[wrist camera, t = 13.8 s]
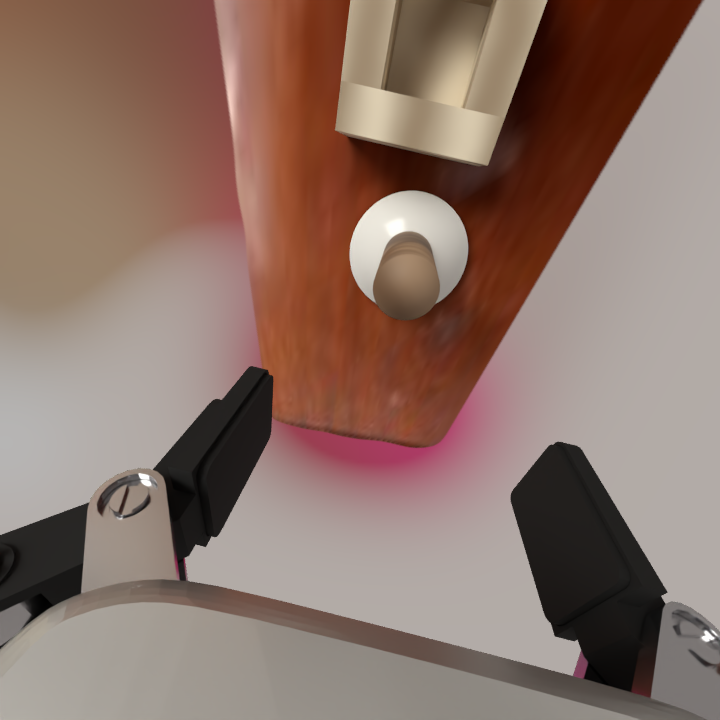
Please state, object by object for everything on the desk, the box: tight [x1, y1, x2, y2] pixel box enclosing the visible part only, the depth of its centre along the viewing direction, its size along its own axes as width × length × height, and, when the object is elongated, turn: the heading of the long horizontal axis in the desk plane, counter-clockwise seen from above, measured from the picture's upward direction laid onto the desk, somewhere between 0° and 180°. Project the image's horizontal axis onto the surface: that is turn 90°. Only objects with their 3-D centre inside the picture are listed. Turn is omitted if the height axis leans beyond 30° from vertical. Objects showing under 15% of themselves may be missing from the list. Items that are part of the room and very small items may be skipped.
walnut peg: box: [373, 231, 440, 320], centre depth 27 cm, size 5×5×10 cm
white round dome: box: [350, 190, 468, 304], centre depth 32 cm, size 12×12×1 cm
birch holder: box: [335, 0, 547, 166], centre depth 22 cm, size 12×12×5 cm
